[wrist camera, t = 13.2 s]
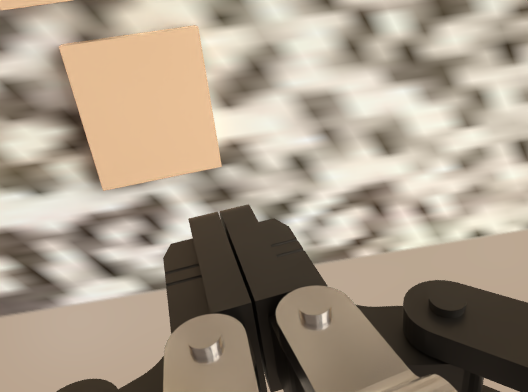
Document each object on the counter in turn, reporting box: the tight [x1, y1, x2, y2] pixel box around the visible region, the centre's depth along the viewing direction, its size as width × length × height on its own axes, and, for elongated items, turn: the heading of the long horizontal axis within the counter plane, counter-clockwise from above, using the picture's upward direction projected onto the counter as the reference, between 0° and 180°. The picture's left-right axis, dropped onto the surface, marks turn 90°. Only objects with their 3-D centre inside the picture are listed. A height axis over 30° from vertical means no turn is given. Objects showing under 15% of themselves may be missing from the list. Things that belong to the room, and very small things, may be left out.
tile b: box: [59, 25, 222, 191], centre depth 25 cm, size 8×2×7 cm
